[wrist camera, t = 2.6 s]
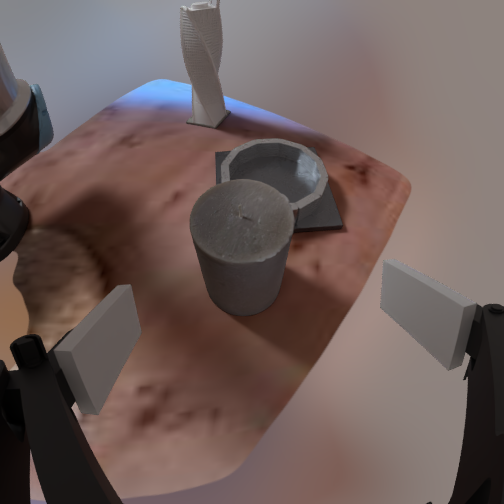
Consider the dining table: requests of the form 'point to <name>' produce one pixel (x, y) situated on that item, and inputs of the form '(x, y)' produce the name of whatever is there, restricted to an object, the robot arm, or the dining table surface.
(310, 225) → the duct collar
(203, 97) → the skyscraper
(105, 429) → the dining table surface
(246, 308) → the pillar candle
